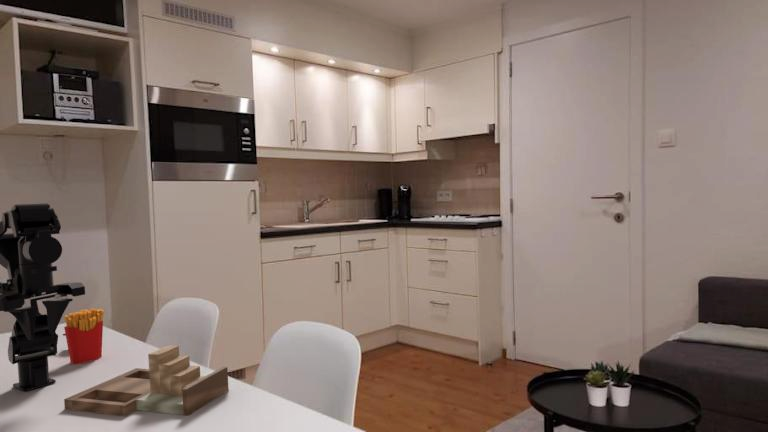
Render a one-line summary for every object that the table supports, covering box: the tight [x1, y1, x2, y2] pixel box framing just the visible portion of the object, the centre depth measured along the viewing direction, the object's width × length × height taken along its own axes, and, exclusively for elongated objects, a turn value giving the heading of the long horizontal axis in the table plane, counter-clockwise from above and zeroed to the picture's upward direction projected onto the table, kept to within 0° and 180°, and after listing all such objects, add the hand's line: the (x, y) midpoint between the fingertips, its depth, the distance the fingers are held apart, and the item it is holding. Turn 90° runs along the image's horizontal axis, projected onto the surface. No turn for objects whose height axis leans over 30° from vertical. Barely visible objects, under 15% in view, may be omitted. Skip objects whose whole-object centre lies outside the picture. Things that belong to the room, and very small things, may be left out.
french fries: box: [64, 307, 105, 365], centre depth 139 cm, size 9×4×13 cm, turn 141°
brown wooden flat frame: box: [63, 366, 230, 417], centre depth 110 cm, size 27×19×5 cm
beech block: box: [147, 345, 206, 396], centre depth 108 cm, size 10×6×8 cm, turn 72°
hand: (41, 336), depth 112 cm, fingers open, 5 cm apart
